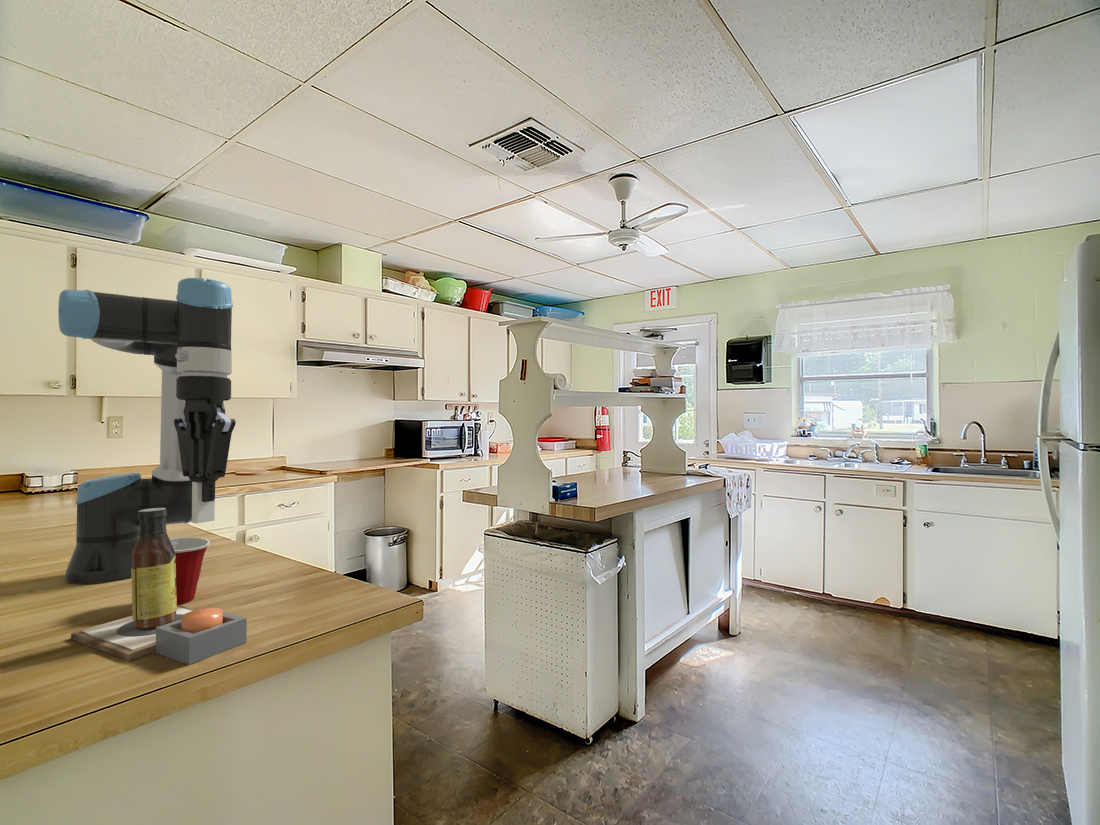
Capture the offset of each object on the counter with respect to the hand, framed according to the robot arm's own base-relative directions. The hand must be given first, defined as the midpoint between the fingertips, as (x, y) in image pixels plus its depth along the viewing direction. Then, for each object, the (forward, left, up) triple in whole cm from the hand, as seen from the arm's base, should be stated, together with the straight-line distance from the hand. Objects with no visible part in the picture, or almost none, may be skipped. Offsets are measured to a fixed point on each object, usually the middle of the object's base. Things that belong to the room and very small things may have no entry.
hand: (203, 521), depth 87 cm
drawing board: (-14, 0, -20) cm, 25 cm away
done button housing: (0, 0, -20) cm, 20 cm away
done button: (0, 0, -18) cm, 18 cm away
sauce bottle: (-14, 0, -19) cm, 24 cm away
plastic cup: (-27, +11, -21) cm, 36 cm away
